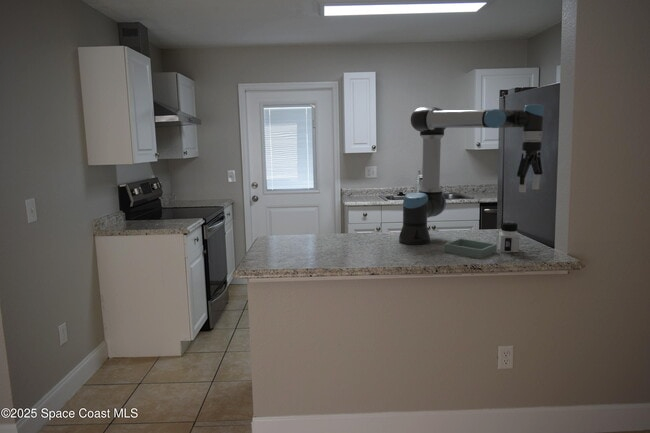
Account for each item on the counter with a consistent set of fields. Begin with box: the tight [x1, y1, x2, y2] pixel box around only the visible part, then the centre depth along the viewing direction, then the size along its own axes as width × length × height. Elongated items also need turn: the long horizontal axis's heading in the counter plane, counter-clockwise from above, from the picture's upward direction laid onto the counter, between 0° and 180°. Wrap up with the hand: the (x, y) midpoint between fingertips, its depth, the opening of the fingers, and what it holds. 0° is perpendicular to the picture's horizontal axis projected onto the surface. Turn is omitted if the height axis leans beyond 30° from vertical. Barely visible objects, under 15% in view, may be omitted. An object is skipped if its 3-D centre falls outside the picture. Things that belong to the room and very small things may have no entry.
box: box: [443, 238, 498, 259], centre depth 224 cm, size 18×15×4 cm
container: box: [497, 221, 520, 253], centre depth 225 cm, size 8×8×13 cm
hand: (528, 190), depth 217 cm, fingers open, 13 cm apart
